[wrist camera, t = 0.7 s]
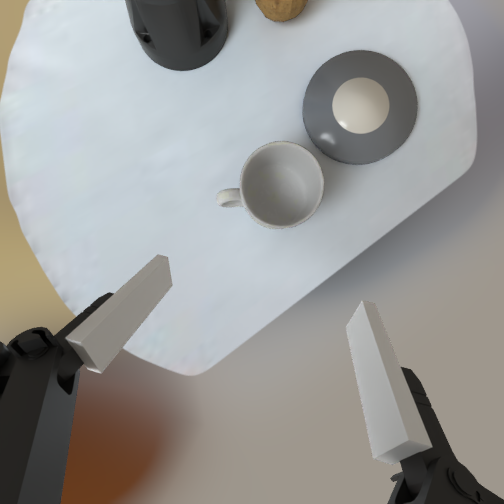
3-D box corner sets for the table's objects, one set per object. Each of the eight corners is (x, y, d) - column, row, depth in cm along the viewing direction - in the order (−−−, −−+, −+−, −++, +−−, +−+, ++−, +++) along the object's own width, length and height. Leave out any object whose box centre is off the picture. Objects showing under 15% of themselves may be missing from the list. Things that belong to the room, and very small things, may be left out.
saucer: (299, 60, 33) (300, 53, 32) (408, 52, 33) (413, 45, 32) (306, 168, 33) (308, 165, 31) (416, 160, 32) (422, 157, 31)
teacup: (308, 168, 33) (326, 140, 25) (307, 234, 32) (325, 228, 24) (223, 167, 33) (214, 139, 25) (222, 233, 33) (212, 226, 25)
